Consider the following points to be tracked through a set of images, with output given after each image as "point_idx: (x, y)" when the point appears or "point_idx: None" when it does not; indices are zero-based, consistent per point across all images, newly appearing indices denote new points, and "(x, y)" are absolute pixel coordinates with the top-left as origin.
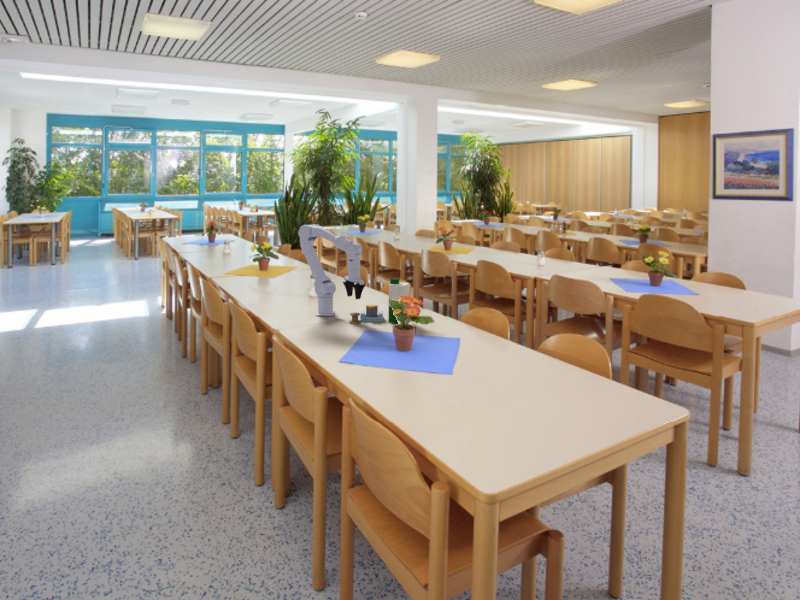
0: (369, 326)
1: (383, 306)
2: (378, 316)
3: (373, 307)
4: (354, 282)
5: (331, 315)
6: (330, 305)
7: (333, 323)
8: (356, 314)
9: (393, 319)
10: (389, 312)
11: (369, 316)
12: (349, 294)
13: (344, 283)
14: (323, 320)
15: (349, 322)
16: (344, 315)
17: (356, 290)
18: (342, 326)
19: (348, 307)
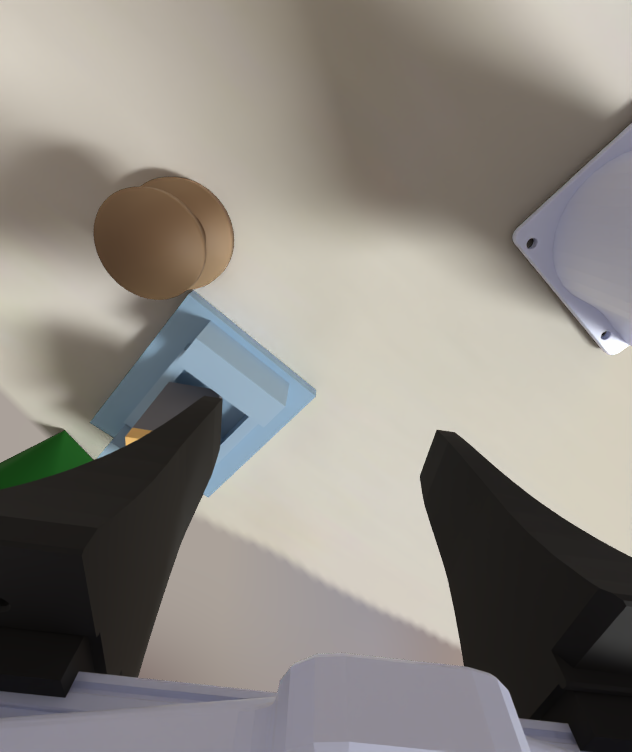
0: (3, 245)
1: (440, 636)
2: None
3: None
4: (262, 695)
5: (523, 224)
6: (615, 251)
7: (272, 15)
8: (103, 233)
9: (15, 456)
10: (10, 483)
11: (166, 385)
12: (437, 462)
13: (620, 579)
14: (458, 12)
15: (193, 182)
16: (451, 337)
17: (93, 465)
18: (102, 6)
19: (605, 509)
